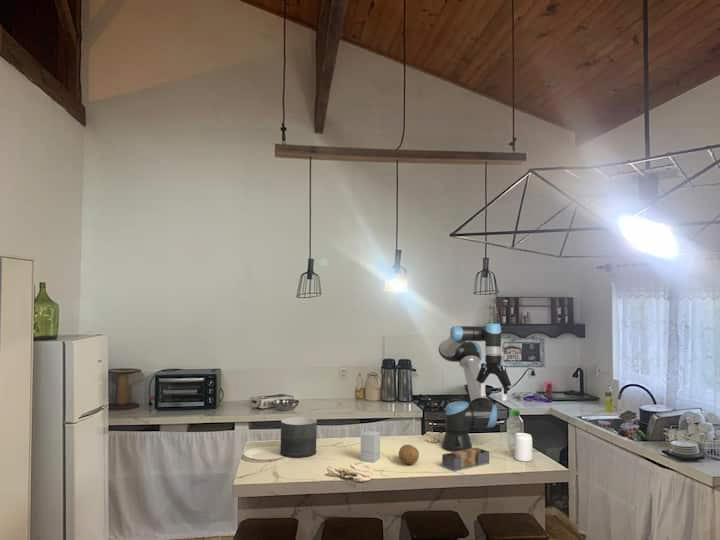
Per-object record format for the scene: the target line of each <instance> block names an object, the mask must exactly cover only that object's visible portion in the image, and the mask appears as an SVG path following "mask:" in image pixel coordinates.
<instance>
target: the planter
mask: <svg viewBox="0 0 720 540" xmlns="http://www.w3.org/2000/svg"><path fill="white" fill-rule="evenodd" d="M317 429H318V421H317V419H316V418H313V417H308V416H292V417H287V418H283V419H281V420H280V455H281V456H284V457H286V458H293V459H294V458H296V459H299V458H300V459H301V458H308V457H312V456H314V455H315V454H317V436H318V435H317V433H318V430H317Z"/></svg>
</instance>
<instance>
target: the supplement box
mask: <svg viewBox="0 0 720 540" xmlns="http://www.w3.org/2000/svg"><path fill="white" fill-rule="evenodd" d="M380 459H381V432H380V431H373V430H372V431H371V430H365V431H363V432H362V433H360V461H362V462H370V463H376V462H377V461H379V460H380Z"/></svg>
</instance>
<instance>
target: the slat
mask: <svg viewBox="0 0 720 540" xmlns="http://www.w3.org/2000/svg"><path fill="white" fill-rule="evenodd" d="M478 448H479V447H472V448H471V449H466V450H461V451H456V452H453V451H450V452H449V453H450V456H451V457H454V458H456V457H461V467H463V466H467V465H472V464H476V463H477V453H480V452H481V449H482V448H480V449H478Z"/></svg>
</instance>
